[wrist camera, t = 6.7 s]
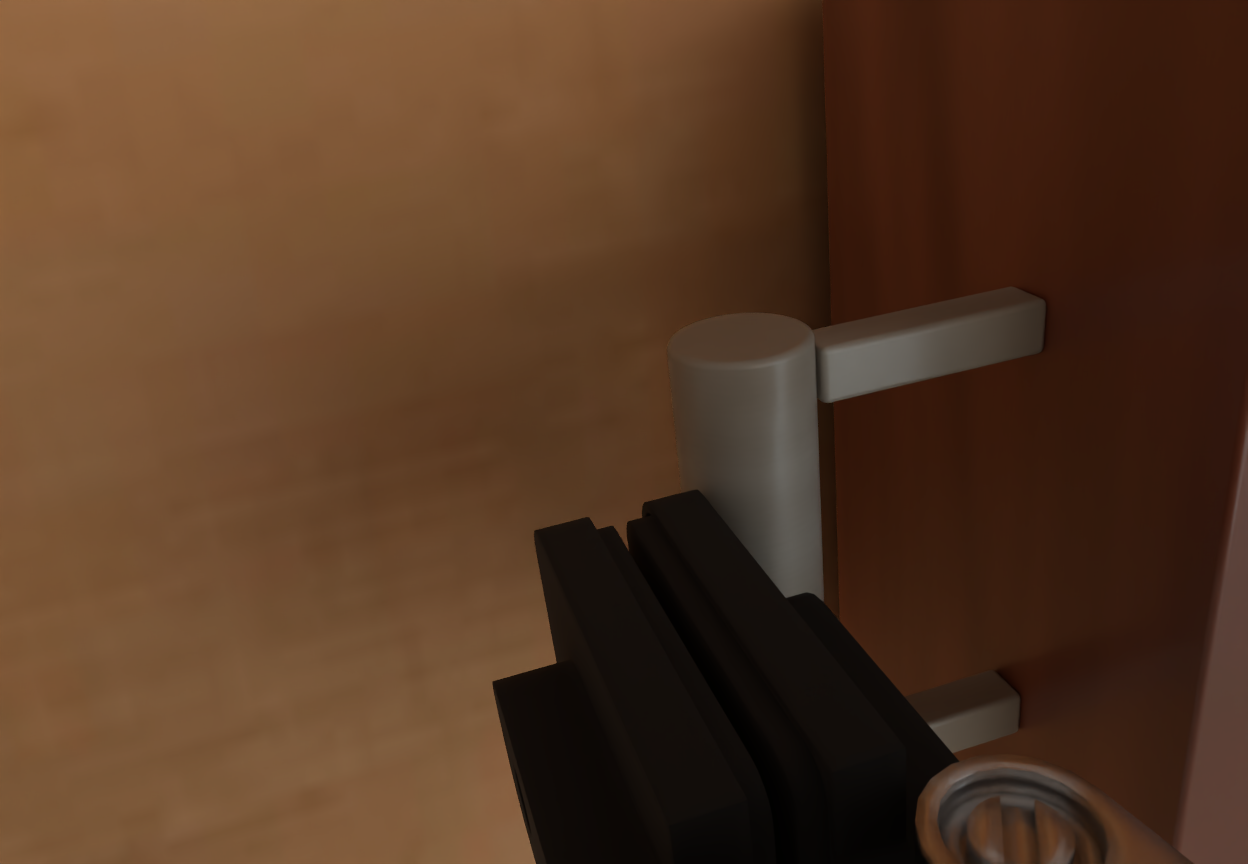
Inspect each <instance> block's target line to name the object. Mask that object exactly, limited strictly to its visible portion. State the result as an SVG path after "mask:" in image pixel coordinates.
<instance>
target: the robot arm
mask: <svg viewBox="0 0 1248 864" xmlns="http://www.w3.org/2000/svg"><path fill="white" fill-rule="evenodd" d="M626 530H627V540H628V547H629V551H628V549H627V547H626V546H625V544H624V542H623V541H622V539H621V537H620V536H619V534H618V532H617V531H616V529H615V528H614V526H609V527H605V528H601V529H596V528H595V526H594V524H593V522H592V521H591V519H590V518H589V517H585V518H581V519H578V520H574V521H570V522H566V523H562V524H558V525H554V526H550V527H546V528H542V529H539V530H535V531H534V540H535V547H536V553H537V558H538V564H539V569H540V575H541V580H542V585H543V591H544V596H545V602H546V607H547V612H548V618H549V623H550V629H551V634H552V639H553V645H554V650H555V656H556V661H557V663H556V664H553V665H549V666H545V667H542V668H538V669H535V670H531V671H528V672H524V673H521V674H517V675H514V676H510V677H507V678H503V679H500V680H496V681H493V690H494V695H495V700H496V704H497V709H498V714H499V718H500V723H501V727H502V732H503V736H504V741H505V745H506V749H507V754H508V758H509V762H510V767H511V771H512V775H513V779H514V783H515V787H516V791H517V795H518V799H519V803H520V807H521V810H522V814H523V818H524V822H525V826H526V829H527V833H528V837H529V840H530V844H531V847H532V851H533V854H534V858H535V861H536V864H1194V863H1193V862H1192V861H1190V860H1189V859H1188V858H1186V857H1185V856H1184V855H1183V854H1181V853H1180V852H1179V851H1178V850H1176V849H1175V848H1174V847H1173V846H1171V845H1170V844H1169V843H1167V842H1166V841H1165V840H1164V839H1162V838H1161V837H1160V836H1159V835H1157V834H1156V833H1155V832H1153V831H1152V830H1151V829H1150V828H1148V827H1147V826H1146V825H1145V824H1143V823H1142V822H1141V821H1140V820H1138V819H1137V818H1136V817H1134V816H1133V815H1132V814H1131V813H1129V812H1128V811H1127V810H1126V809H1124V808H1123V807H1122V806H1121V805H1119V804H1118V803H1117V802H1115V801H1114V800H1113V799H1112V798H1110V797H1109V796H1108V795H1107V794H1105V793H1104V792H1103V791H1101V790H1100V789H1099V788H1098V787H1096V786H1095V785H1093V784H1092V783H1090V782H1088V781H1087V780H1085V779H1083V778H1082V777H1080V776H1079V775H1077V774H1075V773H1074V772H1072V771H1071V770H1069V769H1066V768H1063V767H1060V766H1058V765H1055V764H1052V763H1049V762H1047V761H1044V760H1041V759H1038V758H1031V757H1025V756H1018V755H1011V754H998V755H983V756H975V757H972V758H969V759H966V760H963V761H959V760H958V759H957V758H956V757H955V755H954V754H953V753H952V752H951V751H950V750H949V748H948V747H947V746H946V745H945V744H944V743H943V741H942V740H941V739H940V738H939V737H938V736H937V734H936V733H935V732H934V731H933V730H932V729H931V727H930V726H929V725H928V724H927V723H926V722H925V720H924V719H923V718H922V717H921V716H920V715H919V713H918V712H917V711H916V710H915V709H914V708H913V706H912V705H911V704H910V703H909V702H908V700H907V699H906V698H905V697H904V696H903V695H902V693H901V692H900V691H899V690H898V689H897V688H896V686H895V685H894V684H893V683H892V682H891V681H890V679H889V678H888V677H887V676H886V675H885V674H884V672H883V671H882V670H881V669H880V668H879V667H878V665H877V664H876V663H875V662H874V661H873V660H872V658H871V657H870V656H869V655H868V654H867V653H866V651H865V650H864V649H863V648H862V647H861V646H860V644H859V643H858V642H857V641H856V640H855V639H854V637H853V636H852V635H851V634H850V633H849V632H848V630H847V629H846V628H845V627H844V626H843V625H842V623H841V622H840V621H839V620H838V619H837V617H836V616H835V615H834V614H833V613H832V612H831V610H830V609H829V608H828V607H827V606H826V605H825V603H824V602H823V601H822V600H820V599H819V598H818V597H817V596H816V595H815V594H812V593H808V592H805V593H802V594H798V595H795V596H791V597H788V598H786V597H785V596H784V595H783V594H782V592H781V591H780V590H779V589H778V588H777V586H776V585H775V584H774V583H773V581H772V580H771V579H770V578H769V576H768V575H767V574H766V573H765V571H764V570H763V569H762V568H761V566H760V565H759V564H758V563H757V561H756V560H755V559H754V558H753V556H752V555H751V554H750V553H749V551H748V550H747V549H746V548H745V546H744V545H743V544H742V543H741V541H740V540H739V539H738V538H737V536H736V535H735V534H734V533H733V531H732V530H731V529H730V528H729V526H728V525H727V524H726V523H725V521H724V520H723V519H722V518H721V516H720V515H719V514H718V513H717V511H716V510H715V509H714V508H713V506H712V505H711V504H710V503H709V501H708V500H707V499H706V498H705V496H704V495H703V494H702V493H701V492H700V491H699V490H691V491H687V492H683V493H679V494H675V495H671V496H667V497H664V498H660V499H656V500H652V501H648V502H644V504H643V506H642V518H639V519H636V520H632V521H628V522H627V528H626Z"/></svg>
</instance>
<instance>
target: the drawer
mask: <svg viewBox="0 0 1248 864" xmlns="http://www.w3.org/2000/svg"><path fill="white" fill-rule="evenodd" d="M822 10H823V45H824V81H825V116H826V152H827V187H828V223H829V258H830V294H831V326H828V327H823V328H819V329H814V330H811V328H810V327H809V326H808V325H807V324H805V323H804V322H802V321H800V320H798V319H795V318H792V317H788V316H783V315H777V314H770V313H736V314H727V315H721V316H715V317H711V318H707V319H704V320H700V321H697V322H694V323H692V324H689V325H687V326H685V327H683V328H681V329H680V330H678V331H677V332H675V333H674V334H673V335H672V336H671V338H670V340H669V343H668V346H667V358H668V368H669V378H670V388H671V397H672V407H673V417H674V427H675V437H676V447H677V457H678V467H679V477H680V487H681V493H683V492H687V491H691V490H699V491H700V492H701V493H702V494H703V495H704V496H705V498H706V499H707V500H708V501H709V503H710V504H711V505H712V506H713V508H714V509H715V510H716V511H717V513H718V514H719V515H720V516H721V518H722V519H723V520H724V521H725V523H726V524H727V525H728V526H729V528H730V529H731V530H732V531H733V533H734V534H735V535H736V536H737V538H738V539H739V540H740V541H741V543H742V544H743V545H744V546H745V548H746V549H747V550H748V551H749V553H750V554H751V555H752V556H753V558H754V559H755V560H756V561H757V563H758V564H759V565H760V566H761V568H762V569H763V570H764V571H765V573H766V574H767V575H768V576H769V578H770V579H771V580H772V581H773V583H774V584H775V585H776V586H777V588H778V589H779V590H780V591H781V592H782V594H783V595H784V596H785V597H786V598H788V597H791V596H795V595H798V594H802V593H805V592H808V593H812V594H815V595H816V596H817V597H818V598H819V599H820V600H822V601H823V602H824V582H823V554H822V526H821V498H820V470H819V442H818V413H817V398H818V399H819V400H820V401H822V402H825V403H831V402H834V436H835V471H836V507H837V542H838V578H839V613H840V622H841V623H842V625H843V626H844V627H845V628H846V629H847V630H848V632H849V633H850V634H851V635H852V636H853V637H854V639H855V640H856V641H857V642H858V643H859V644H860V646H861V647H862V648H863V649H864V650H865V651H866V653H867V654H868V655H869V656H870V657H871V658H872V660H873V661H874V662H875V663H876V664H877V665H878V667H879V668H880V669H881V670H882V671H883V672H884V674H885V675H886V676H887V677H888V678H889V679H890V681H891V682H892V683H893V684H894V685H895V686H896V688H897V689H898V690H899V691H900V692H901V693H902V695H903V696H904V697H905V698H906V699H907V700H908V702H909V703H910V704H911V705H912V706H913V708H914V709H915V710H916V711H917V712H918V713H919V715H920V716H921V717H922V718H923V719H924V720H925V722H926V723H927V724H928V725H929V726H930V727H931V729H932V730H933V731H934V732H935V733H936V734H937V736H938V737H939V738H940V739H941V740H942V741H943V743H944V744H945V745H946V746H947V747H948V748H949V750H950V751H951V752H952V753H953V754H954V755H955V757H956V758H957V759H958V760H959V761H963V760H966V759H969V758H972V757H975V756H983V755H998V754H1011V755H1018V756H1025V757H1031V758H1038V759H1041V760H1044V761H1047V762H1049V763H1052V764H1055V765H1058V766H1060V767H1063V768H1066V769H1069V770H1071V771H1072V772H1074V773H1075V774H1077V775H1079V776H1080V777H1082V778H1083V779H1085V780H1087V781H1088V782H1090V783H1092V784H1093V785H1095V786H1096V787H1098V788H1099V789H1100V790H1101V791H1103V792H1104V793H1105V794H1107V795H1108V796H1109V797H1110V798H1112V799H1113V800H1114V801H1115V802H1117V803H1118V804H1119V805H1121V806H1122V807H1123V808H1124V809H1126V810H1127V811H1128V812H1129V813H1131V814H1132V815H1133V816H1134V817H1136V818H1137V819H1138V820H1140V821H1141V822H1142V823H1143V824H1145V825H1146V826H1147V827H1148V828H1150V829H1151V830H1152V831H1153V832H1155V833H1156V834H1157V835H1159V836H1160V837H1161V838H1162V839H1164V840H1165V841H1166V842H1167V843H1169V844H1170V845H1171V846H1173V847H1174V848H1175V849H1176V850H1178V851H1179V852H1180V853H1181V854H1183V855H1184V856H1185V857H1186V858H1188V859H1189V860H1190V861H1192V862H1193V863H1194V864H1248V0H822Z"/></svg>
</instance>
